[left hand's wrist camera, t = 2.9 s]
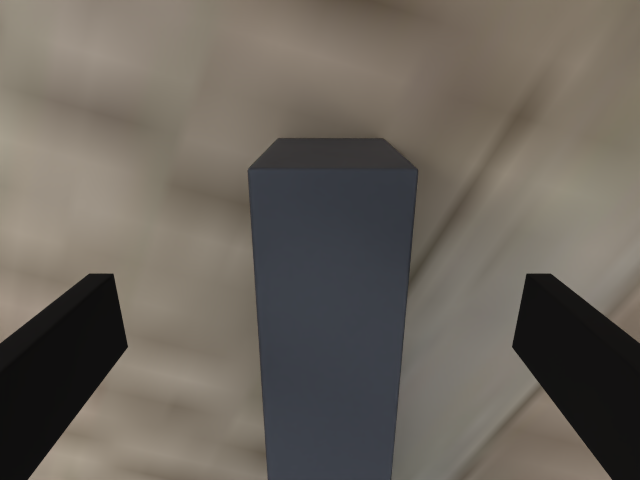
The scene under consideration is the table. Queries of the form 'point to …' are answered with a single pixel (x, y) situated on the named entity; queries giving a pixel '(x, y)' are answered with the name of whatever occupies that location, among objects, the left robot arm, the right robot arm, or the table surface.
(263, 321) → the beam
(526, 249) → the table surface
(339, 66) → the table surface
